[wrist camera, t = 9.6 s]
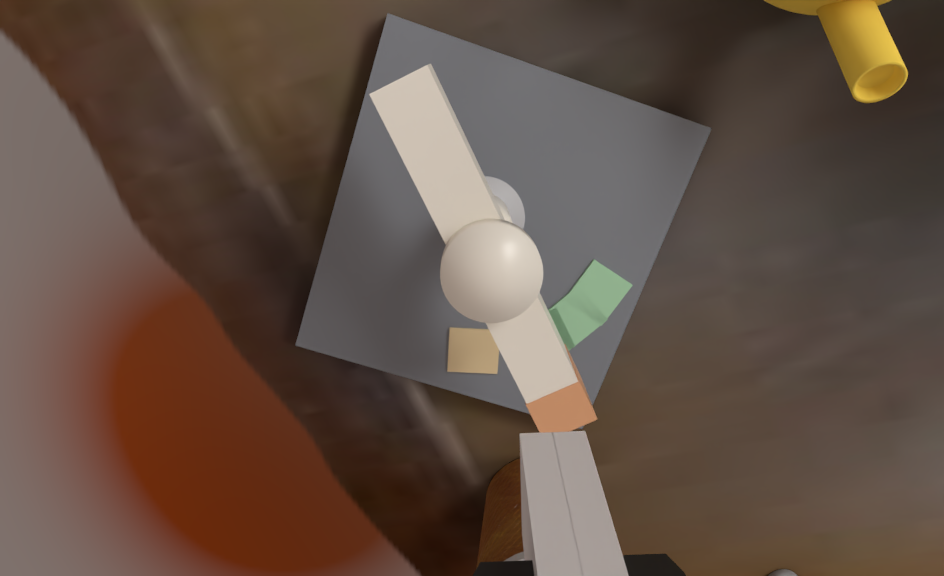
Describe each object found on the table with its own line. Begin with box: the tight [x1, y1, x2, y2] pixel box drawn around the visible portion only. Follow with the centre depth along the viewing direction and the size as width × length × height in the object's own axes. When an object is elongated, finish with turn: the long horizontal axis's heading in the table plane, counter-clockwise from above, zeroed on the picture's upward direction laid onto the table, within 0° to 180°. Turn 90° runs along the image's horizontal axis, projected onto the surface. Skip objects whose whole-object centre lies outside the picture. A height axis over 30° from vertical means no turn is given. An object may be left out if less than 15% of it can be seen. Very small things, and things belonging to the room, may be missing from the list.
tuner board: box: [295, 14, 712, 429], centre depth 38 cm, size 18×17×1 cm
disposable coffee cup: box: [476, 458, 623, 569], centre depth 38 cm, size 10×10×12 cm
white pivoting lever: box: [369, 64, 597, 433], centre depth 32 cm, size 16×4×10 cm, turn 26°
